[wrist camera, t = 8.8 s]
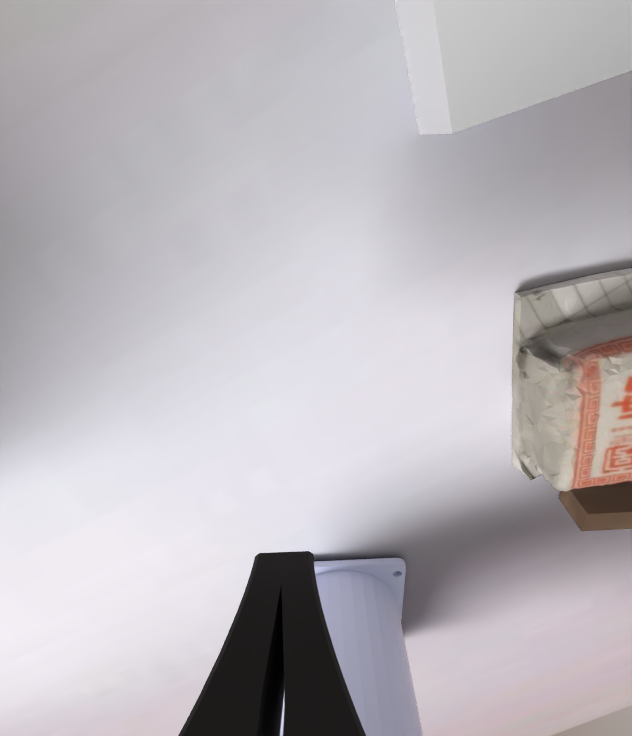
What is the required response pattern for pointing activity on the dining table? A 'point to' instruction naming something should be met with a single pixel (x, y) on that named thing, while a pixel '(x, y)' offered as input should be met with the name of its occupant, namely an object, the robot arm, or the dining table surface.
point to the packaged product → (574, 381)
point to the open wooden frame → (600, 506)
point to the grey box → (506, 54)
